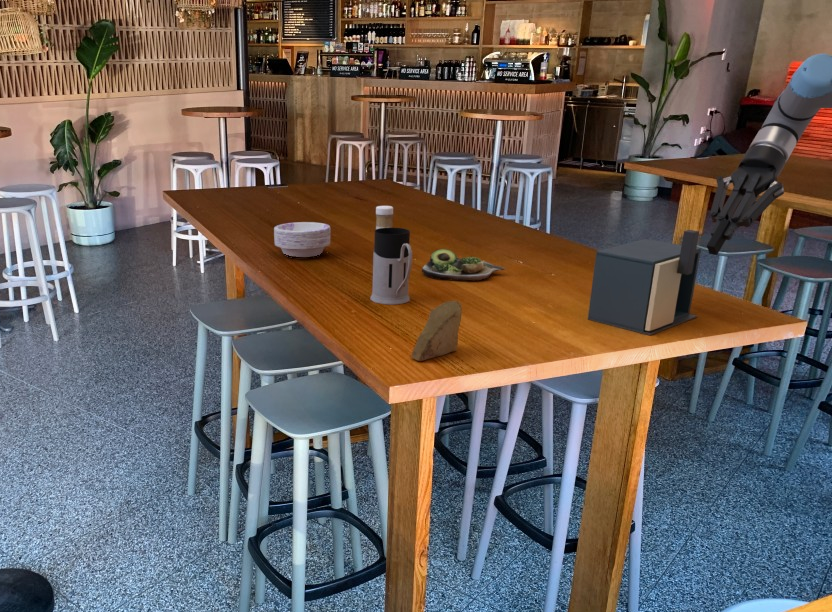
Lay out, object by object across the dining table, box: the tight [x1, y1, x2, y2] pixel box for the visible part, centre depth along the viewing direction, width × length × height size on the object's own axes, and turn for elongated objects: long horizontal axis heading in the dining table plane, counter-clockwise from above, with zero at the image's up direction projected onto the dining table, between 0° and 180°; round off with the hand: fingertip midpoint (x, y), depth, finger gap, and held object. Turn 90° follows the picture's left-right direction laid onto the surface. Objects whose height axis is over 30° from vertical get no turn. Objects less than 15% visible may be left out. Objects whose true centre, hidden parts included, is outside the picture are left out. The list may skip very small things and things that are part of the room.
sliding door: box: [645, 229, 700, 331], centre depth 149 cm, size 3×9×18 cm, turn 129°
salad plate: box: [421, 248, 506, 281], centre depth 195 cm, size 19×18×5 cm
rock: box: [410, 300, 463, 362], centre depth 140 cm, size 11×9×10 cm
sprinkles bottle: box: [375, 205, 394, 230], centre depth 209 cm, size 5×5×14 cm
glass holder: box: [369, 227, 413, 305], centre depth 169 cm, size 9×14×15 cm, turn 18°
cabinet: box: [587, 238, 702, 336], centre depth 158 cm, size 14×18×14 cm
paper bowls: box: [273, 221, 331, 257], centre depth 213 cm, size 15×15×8 cm
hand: (711, 250), depth 155 cm, fingers closed
